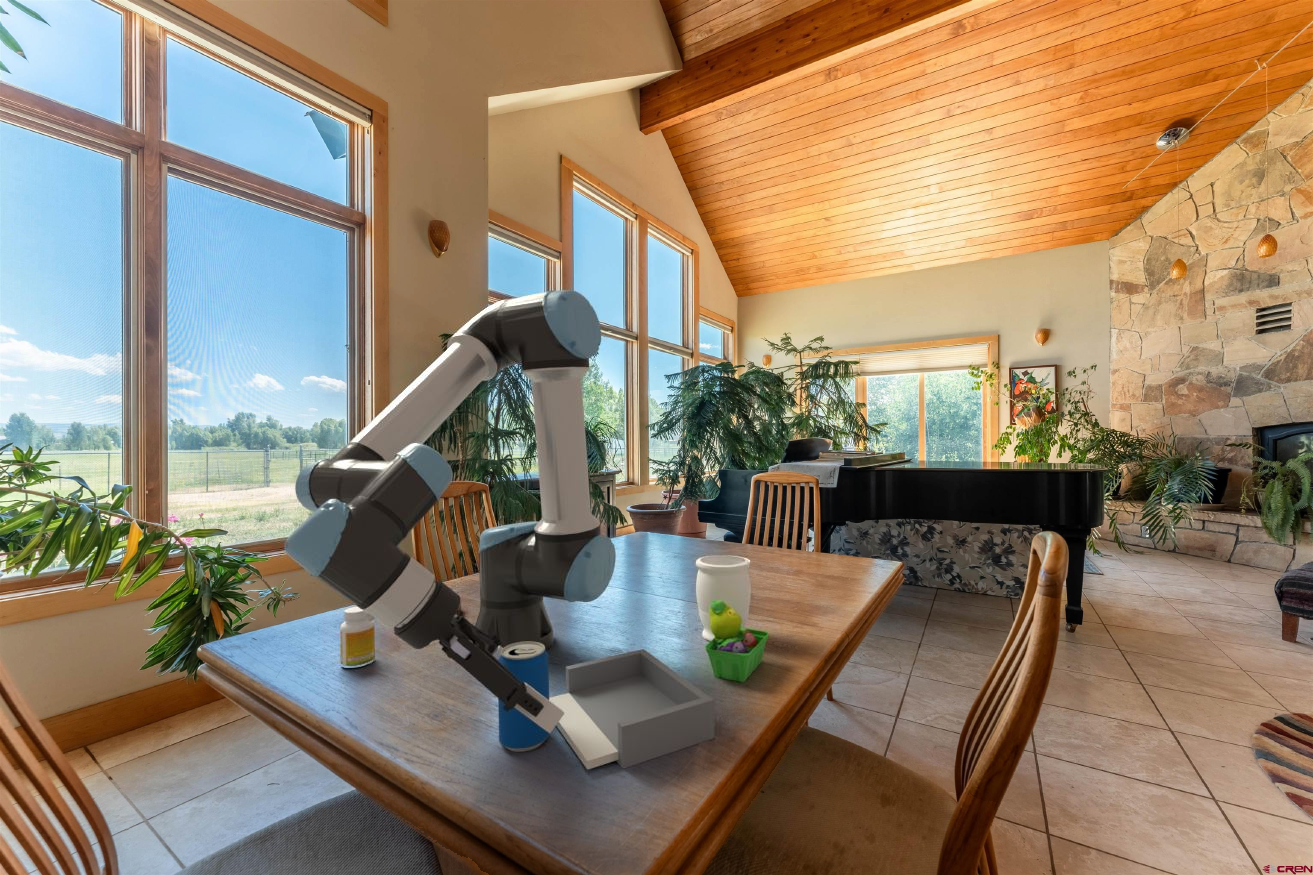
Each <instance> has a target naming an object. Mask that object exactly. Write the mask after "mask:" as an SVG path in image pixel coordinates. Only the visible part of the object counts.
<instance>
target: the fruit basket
mask: <svg viewBox="0 0 1313 875" xmlns="http://www.w3.org/2000/svg"><path fill="white" fill-rule="evenodd" d="M709 614H710V628H711V631H712V633H713V635H714V636H715V638H714V639H713V640H712V641H709V642H708V643H707V644H706V645H705V651H706V653H707V655H708V658H709V661H710V664H711V668H712V669H711V670H712V672H713V675H714V677H715V678H722V679H725V680H729V681H730V680H731V681H738V682H739V683H745V682H746V680H747V679H748V677H750V676H751V675H752V673H753V672H754V671H755V670H756V669H757V668H758V666H759V665H760V664H761V662H762V660H763V656H764V653H765V649H766V648H765V647H766V644H767V641H768V639H769V636H770V633H769V632H768V631H764V630H759V629H753V628H746V627H744V628H742V627H741V624H742V619H741V617H740V615H739V614H738V613H737V612H736V611H734V610H733V609H732V608H731V607H729V606H728V605H727V604H726V603H724V602H723V601H720V600H719V601H713V602H712V605H711V608H710V610H709Z"/></svg>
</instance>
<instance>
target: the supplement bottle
mask: <svg viewBox="0 0 1313 875" xmlns="http://www.w3.org/2000/svg"><path fill="white" fill-rule="evenodd" d="M343 615H344V616H343V618H344V620H345V621H344V622H342V623H341V625H340V628H339V637H340V638H339V644H340V665H341V664H342V665H343V666H357V665H362V664H365V663H368V662H370V661H372V660H374V659H376V642H375V641H376V640H375V639H376V638H375V621H374V619H373V620H372V621H370V622H368V621H366V619H365V616H366V615H367V613H366V612H364V611H363V610H362V609H360V608H359V607H357V606H356V605H355V606H352V607H349V608H346V609H344V613H343ZM374 661H375V660H374Z"/></svg>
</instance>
